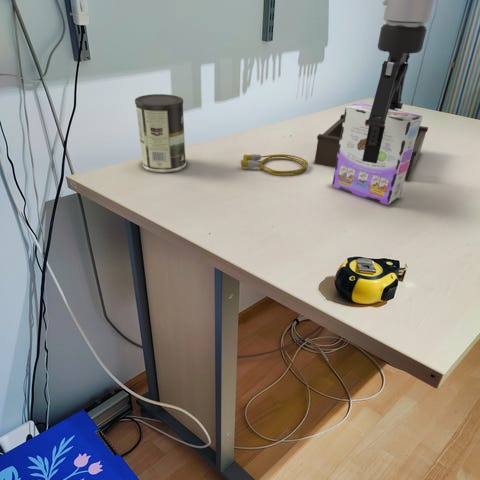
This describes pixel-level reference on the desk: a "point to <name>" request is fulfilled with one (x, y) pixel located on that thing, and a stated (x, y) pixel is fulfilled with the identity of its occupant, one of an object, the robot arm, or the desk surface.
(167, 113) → the coffee can
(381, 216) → the desk surface
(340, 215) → the desk surface
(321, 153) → the square shelf
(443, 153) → the desk surface
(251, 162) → the extension cord
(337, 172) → the candy box
